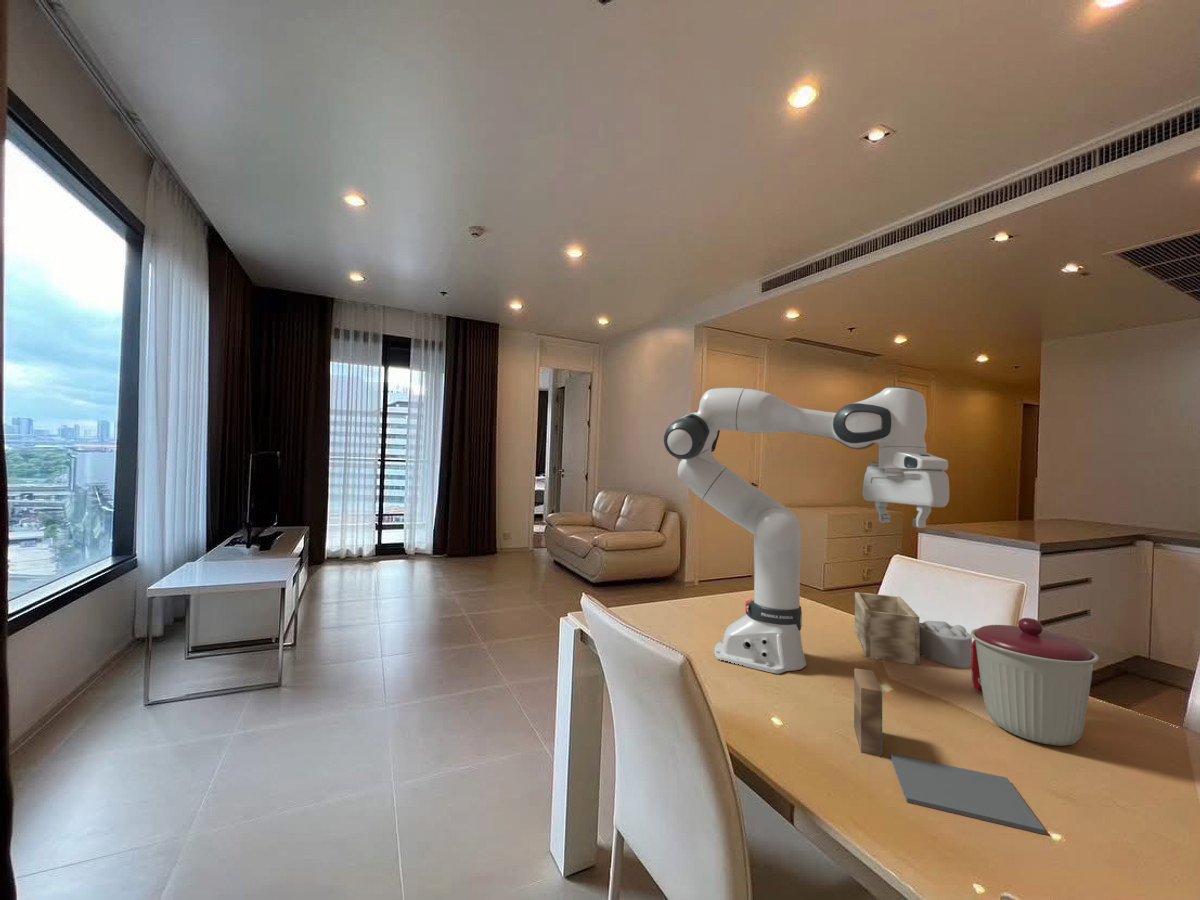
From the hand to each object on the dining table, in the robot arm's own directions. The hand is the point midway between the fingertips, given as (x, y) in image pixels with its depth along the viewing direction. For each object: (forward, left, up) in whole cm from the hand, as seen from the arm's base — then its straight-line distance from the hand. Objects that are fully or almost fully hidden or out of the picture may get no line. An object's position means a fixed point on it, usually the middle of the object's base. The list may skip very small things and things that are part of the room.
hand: (901, 525), depth 104 cm
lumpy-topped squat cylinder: (+17, +33, -38) cm, 53 cm away
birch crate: (+3, +35, -37) cm, 51 cm away
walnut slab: (-9, -21, -37) cm, 44 cm away
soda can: (+20, +12, -37) cm, 44 cm away
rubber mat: (+2, -31, -37) cm, 48 cm away
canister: (+21, -4, -38) cm, 43 cm away
